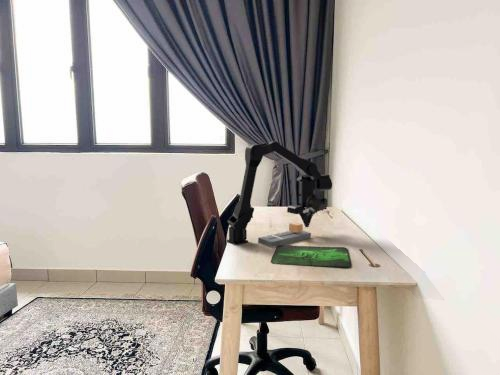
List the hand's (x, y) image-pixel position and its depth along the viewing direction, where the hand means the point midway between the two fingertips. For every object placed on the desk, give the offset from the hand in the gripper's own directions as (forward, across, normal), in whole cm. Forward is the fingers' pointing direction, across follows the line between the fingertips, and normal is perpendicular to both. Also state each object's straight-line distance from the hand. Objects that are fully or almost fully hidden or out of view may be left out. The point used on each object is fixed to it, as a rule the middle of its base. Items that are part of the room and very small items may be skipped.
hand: (306, 227), depth 163 cm
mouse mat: (+4, -19, -20) cm, 28 cm away
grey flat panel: (+4, -13, 0) cm, 13 cm away
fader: (+1, -7, 0) cm, 7 cm away
